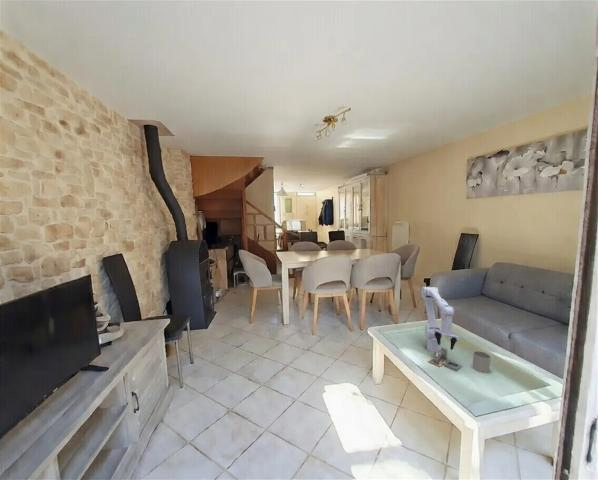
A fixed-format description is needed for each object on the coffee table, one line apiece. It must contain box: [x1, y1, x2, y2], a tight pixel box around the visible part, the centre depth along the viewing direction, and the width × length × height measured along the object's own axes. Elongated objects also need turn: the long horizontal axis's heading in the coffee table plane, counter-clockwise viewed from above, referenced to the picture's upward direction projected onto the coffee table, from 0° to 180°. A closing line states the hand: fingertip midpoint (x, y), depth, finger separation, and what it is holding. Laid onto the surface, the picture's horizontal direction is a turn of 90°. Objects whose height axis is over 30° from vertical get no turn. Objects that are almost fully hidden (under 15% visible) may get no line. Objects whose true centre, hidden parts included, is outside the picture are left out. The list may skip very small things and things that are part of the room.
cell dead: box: [440, 347, 448, 361], centre depth 169 cm, size 3×3×6 cm
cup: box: [472, 350, 491, 374], centre depth 157 cm, size 8×8×10 cm
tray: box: [427, 357, 448, 368], centre depth 163 cm, size 10×7×2 cm
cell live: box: [432, 352, 441, 365], centre depth 162 cm, size 3×3×6 cm
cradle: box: [443, 360, 464, 372], centre depth 159 cm, size 10×7×3 cm
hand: (445, 346), depth 164 cm, fingers open, 7 cm apart
